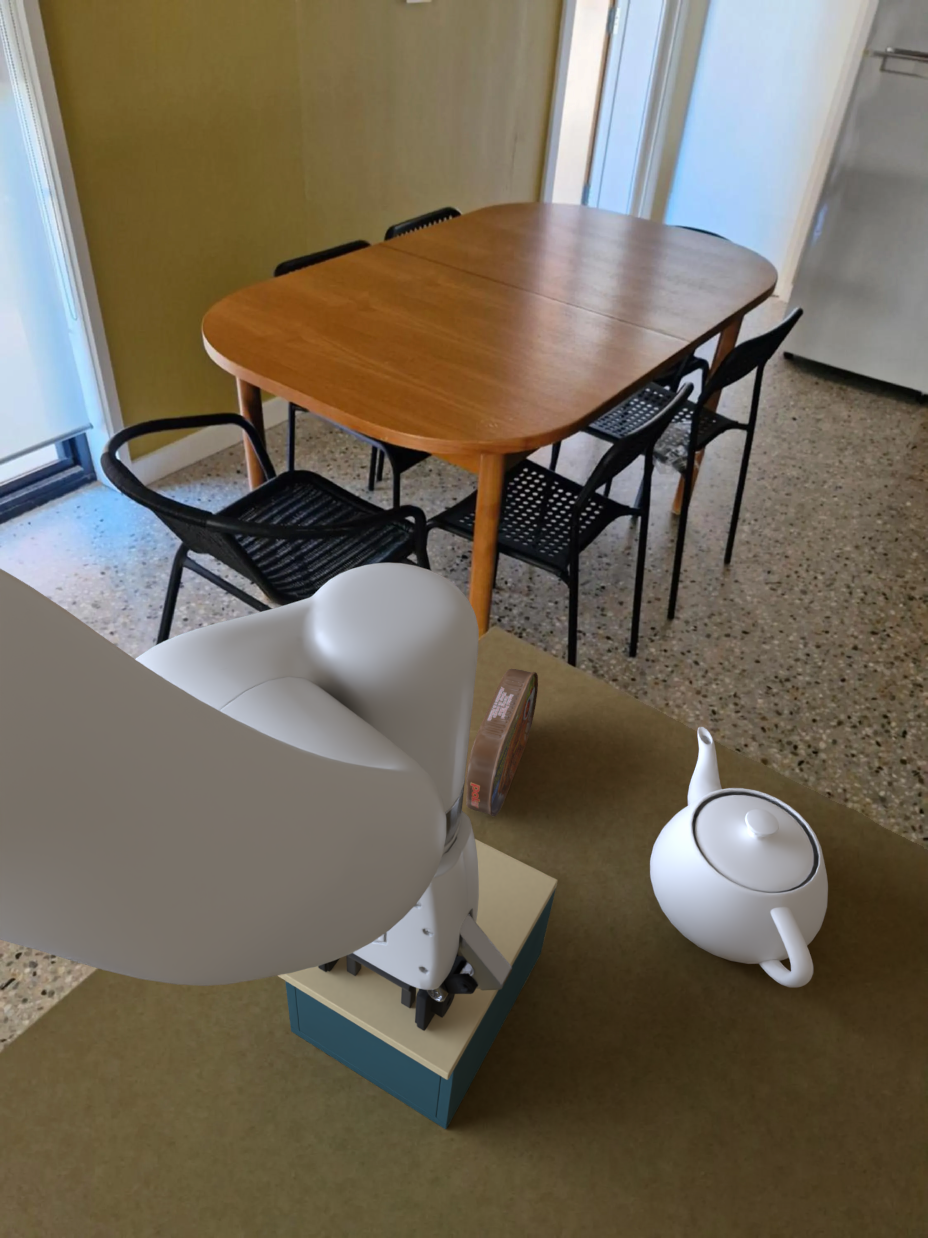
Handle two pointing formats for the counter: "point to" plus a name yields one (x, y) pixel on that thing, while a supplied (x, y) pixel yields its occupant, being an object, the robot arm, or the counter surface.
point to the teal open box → (396, 1067)
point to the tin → (501, 741)
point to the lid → (390, 1004)
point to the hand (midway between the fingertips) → (384, 978)
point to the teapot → (741, 874)
